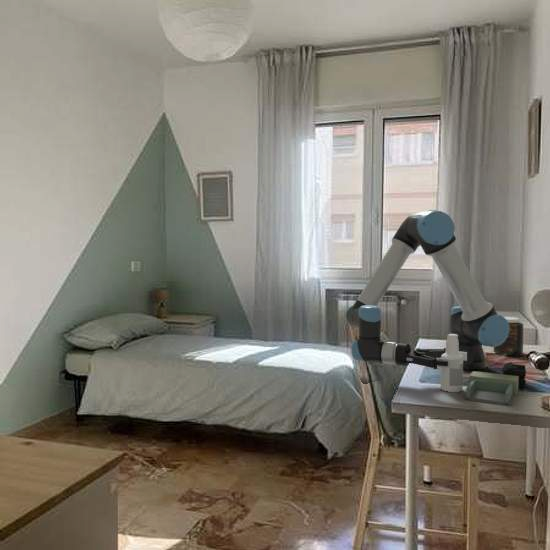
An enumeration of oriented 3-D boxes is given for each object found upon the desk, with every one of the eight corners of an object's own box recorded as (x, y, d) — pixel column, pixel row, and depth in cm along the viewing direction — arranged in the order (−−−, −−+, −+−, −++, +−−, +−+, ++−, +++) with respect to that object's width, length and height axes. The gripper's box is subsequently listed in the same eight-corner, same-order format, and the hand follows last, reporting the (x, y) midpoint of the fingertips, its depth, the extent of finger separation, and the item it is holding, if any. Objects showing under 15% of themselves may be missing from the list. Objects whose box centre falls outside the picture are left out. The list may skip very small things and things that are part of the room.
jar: (524, 356, 227) (525, 320, 226) (494, 354, 231) (495, 319, 230) (521, 351, 238) (522, 316, 237) (492, 349, 242) (493, 315, 241)
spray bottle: (460, 393, 172) (461, 337, 171) (438, 390, 176) (439, 335, 174) (464, 388, 178) (465, 333, 177) (443, 385, 182) (444, 332, 180)
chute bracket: (472, 384, 183) (473, 371, 183) (518, 389, 177) (518, 376, 176) (462, 399, 166) (462, 384, 166) (512, 405, 160) (512, 390, 159)
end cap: (502, 380, 189) (502, 361, 188) (524, 382, 186) (525, 362, 186) (501, 387, 180) (502, 367, 179) (525, 390, 177) (526, 369, 176)
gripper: (406, 357, 196) (469, 364, 186) (386, 372, 174) (455, 380, 164) (406, 337, 195) (469, 342, 185) (386, 349, 174) (456, 355, 164)
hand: (463, 360), depth 175 cm, fingers open, 12 cm apart
